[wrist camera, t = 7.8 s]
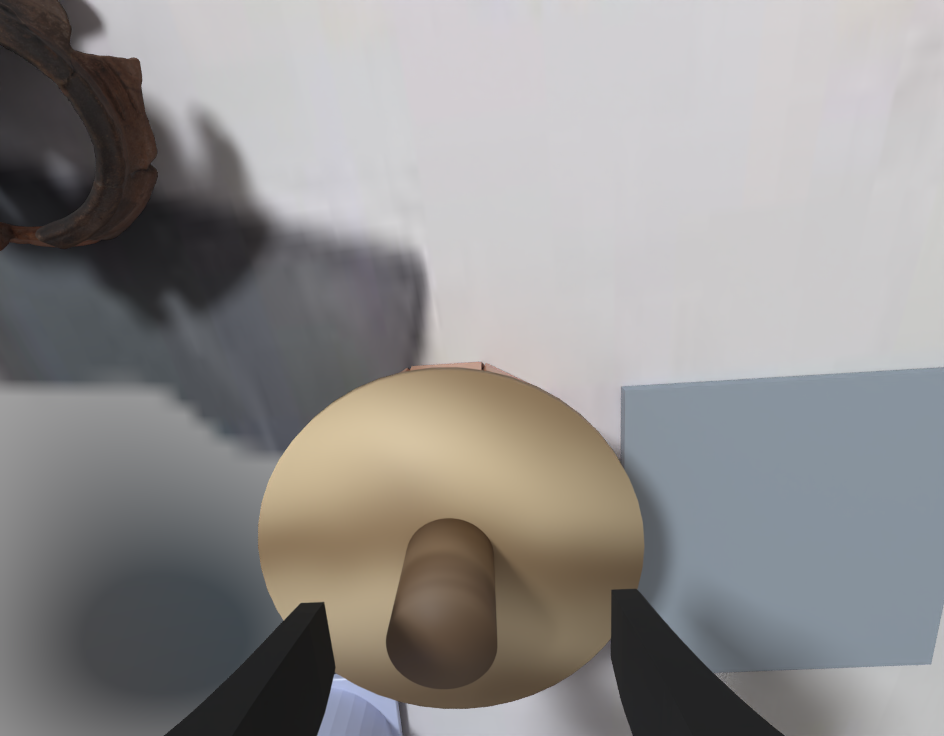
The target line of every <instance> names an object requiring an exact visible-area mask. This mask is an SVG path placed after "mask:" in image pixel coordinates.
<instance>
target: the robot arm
mask: <svg viewBox="0 0 944 736" xmlns="http://www.w3.org/2000/svg"><path fill="white" fill-rule="evenodd" d="M611 660H612V664H613V668H614V673H615V677H616V681H617V686H618V690H619V694H620V698H621V702H622V705H623V708H624V711H625V714H626V717H627V720H628V723H629V725H630V728H631V731H632V734H633V736H784V735H783V734H782V733H780V732H779V731H778V730H777V729H775V728H774V727H773V726H772V725H770V724H769V723H768V722H767V721H766V720H765V719H763V718H762V717H761V716H760V715H759V714H757V713H756V712H755V711H754V710H753V709H752V708H750V707H749V706H748V705H747V704H746V703H745V702H744V701H743V700H741V699H740V698H739V697H738V696H737V695H736V694H735V693H734V692H733V691H732V690H731V689H730V688H729V687H727V686H726V685H725V684H724V683H723V682H722V681H721V680H720V679H719V678H718V677H717V676H716V675H715V674H714V673H713V672H712V671H711V670H710V669H709V668H708V667H707V666H706V665H705V664H704V663H703V662H702V661H701V660H700V659H699V658H698V657H697V656H696V655H695V654H694V653H693V652H692V650H691V649H690V648H689V647H688V646H687V645H686V644H685V643H684V642H683V641H682V640H681V639H680V638H679V637H678V636H677V634H676V633H675V632H674V631H673V630H672V629H671V628H670V627H669V625H668V624H667V623H666V622H665V621H664V620H663V619H662V617H661V616H660V615H659V614H658V613H657V612H656V610H655V609H654V608H653V607H652V606H651V604H650V603H649V602H648V601H647V600H646V598H645V597H644V596H643V595H642V594H641V592H639V591H638V590H637V589H615V590H611ZM335 668H336V666H335V661H334V655H333V649H332V643H331V638H330V632H329V626H328V620H327V615H326V609H325V603H324V602H310V603H300V604H299V605H298V606H297V607H296V608H295V609H294V610H293V611H292V612H291V613H290V615H289V616H288V617H287V618H286V619H285V620H284V621H283V622H282V623H281V624H280V625H279V626H278V627H277V628H276V629H275V630H274V632H273V633H272V634H271V635H270V636H269V637H268V638H267V639H266V640H265V641H264V642H263V643H262V644H261V645H260V646H259V647H258V648H257V649H256V650H255V651H254V653H253V654H252V655H251V656H250V657H249V658H248V659H247V660H246V661H245V662H244V663H243V664H242V665H241V666H240V667H239V668H238V669H237V670H236V671H235V672H234V673H233V674H232V675H231V676H230V677H229V678H228V679H227V680H226V681H225V682H224V683H222V684H221V685H220V686H219V688H217V689H216V690H215V691H214V692H213V693H212V694H211V695H210V696H209V697H208V698H207V699H206V700H205V701H204V702H203V703H201V704H200V705H199V706H198V707H197V708H196V709H195V710H194V711H193V712H191V713H190V714H189V715H188V716H187V717H186V718H185V719H183V720H182V721H181V722H180V723H179V724H178V725H176V726H175V727H174V728H173V729H171V730H170V731H169V732H168V733H167V734H166V735H164V736H403V734H402V727H401V719H400V712H399V704H398V701H396V700H393V699H390V698H386V697H383V696H380V695H377V694H375V693H373V692H370V691H368V690H366V689H364V688H361V687H359V686H357V685H355V684H353V683H352V682H350V681H348V680H347V679H345V678H343V677H341V676H340V675H338V674H334V673H335Z"/></svg>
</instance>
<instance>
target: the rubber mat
mask: <svg viewBox="0 0 944 736" xmlns="http://www.w3.org/2000/svg"><path fill="white" fill-rule="evenodd" d="M621 465H622V467H623V468H624V470H625V472H626V474H627V475H628V477H629V479H630V482H631V484H632V487H633V489H634V492H635V494H636V497H637V499H638V503H639V508H640V512H641V516H642V521H643V531H644V545H645V546H644V558H643V568H642V572H641V577H640V581H639V585H638V589H637V590H638V591H639V592H641V594H642V595H643V596H644V597H645V598H646V600H647V601H648V602H649V603H650V604H651V606H652V607H653V608H654V609H655V610H656V612H657V613H658V614H659V615H660V616H661V617H662V619H663V620H664V621H665V622H666V623H667V624H668V625H669V627H670V628H671V629H672V630H673V631H674V632H675V633H676V634H677V636H678V637H679V638H680V639H681V640H682V641H683V642H684V643H685V644H686V645H687V646H688V647H689V648H690V649H691V650H692V652H693V653H694V654H695V655H696V656H697V657H698V658H699V659H700V660H701V661H702V662H703V663H704V664H705V665H706V666H707V667H708V668H709V669H710V670H711V671H712V672H713V673H721V672H747V671H772V670H798V669H823V668H849V667H874V666H900V665H925V664H931V662H932V657H933V653H934V648H935V643H936V638H937V633H938V629H939V624H940V619H941V614H942V609H943V605H944V367H943V368H926V369H909V370H893V371H876V372H859V373H842V374H826V375H809V376H792V377H775V378H758V379H742V380H725V381H708V382H691V383H675V384H658V385H641V386H624V387H621Z"/></svg>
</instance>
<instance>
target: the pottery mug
mask: <svg viewBox="0 0 944 736" xmlns="http://www.w3.org/2000/svg"><path fill="white" fill-rule="evenodd" d="M71 31H72V28H71V25H70V23H69V20H68V17H67V14H66V12H65V10H64V8H63V7H62V5H61V4H60V3H59V1H58V0H0V45H1V46H3V47H5V48H7V49H9V50H11V51H12V52H14V53H15V54H17V55H19V56H20V57H22V58H23V59H25V60H26V61H28V62H29V63H30V64H32V65H33V66H35V67H36V68H37V69H38V70H40V71H41V72H42V73H43V74H44V75H46V76H47V77H49V78H50V79H52V80H53V81H54V82H55V83H56V84H57V86H58V87H59V89H60V90H61V91H62V93H63V94H64V95H65V96H66V97H67V98H68V100H69V101H70V102H71V104H72V105H73V107H74V109H75V111H76V112H77V114H78V115H79V117H80V118H81V120H82V121H83V123H84V125H85V127H86V129H87V131H88V133H89V136H90V138H91V141H92V143H93V145H94V152H95V157H96V176H95V180H94V183H93V186H92V189H91V192H90V194H89V196H88V198H87V199H86V201H85V202H84V204H83V205H82V206H81V207H80V208H79V209H77V210H76V211H75V212H73V213H72V214H70V215H68V216H67V217H64V218H63V219H60V220H57V221H54V222H51V223H49V224H46V225H44V226H39V227H24V226H13V225H10V224H6V223H2V222H0V251H2V250H3V249H4V248H5V247H6V246H7V245H8V244H9V242H13V243H19V244H33V245H37V246H47V247H57V248H60V249H68V248H71V247H75V246H83V245H89V244H94V243H97V242H99V241H100V240H110V239H113V238H115V237H117V236H119V235H120V234H121V233H122V232H124V230H126V229H127V228H128V227H129V226H130V225H131V224H132V223H133V221H135V219H136V218H137V217H138V216H139V214H140V213H141V212H142V211H143V209H144V208H145V206H146V204H147V202H148V201H149V198H150V196H151V193H152V191H153V188H154V186H155V184H156V181H157V177H158V172H157V170H156V169H155V168H154V167H153V166H152V165H151V164H150V163H151V162H152V161H153V160H154V159H155V158H156V155H157V147H156V143H155V138H154V135H153V132H152V130H151V127H150V125H149V120H148V118H147V115H146V112H145V107H144V102H143V95H142V89H141V84H142V72H141V66H140V61H139V60H138V59H137V58H130V59H126V58H118V57H112V56H99V55H94V54H86V53H82V52H79V51H76V50H74V49H72V47H71V46H70V36H71Z"/></svg>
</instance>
